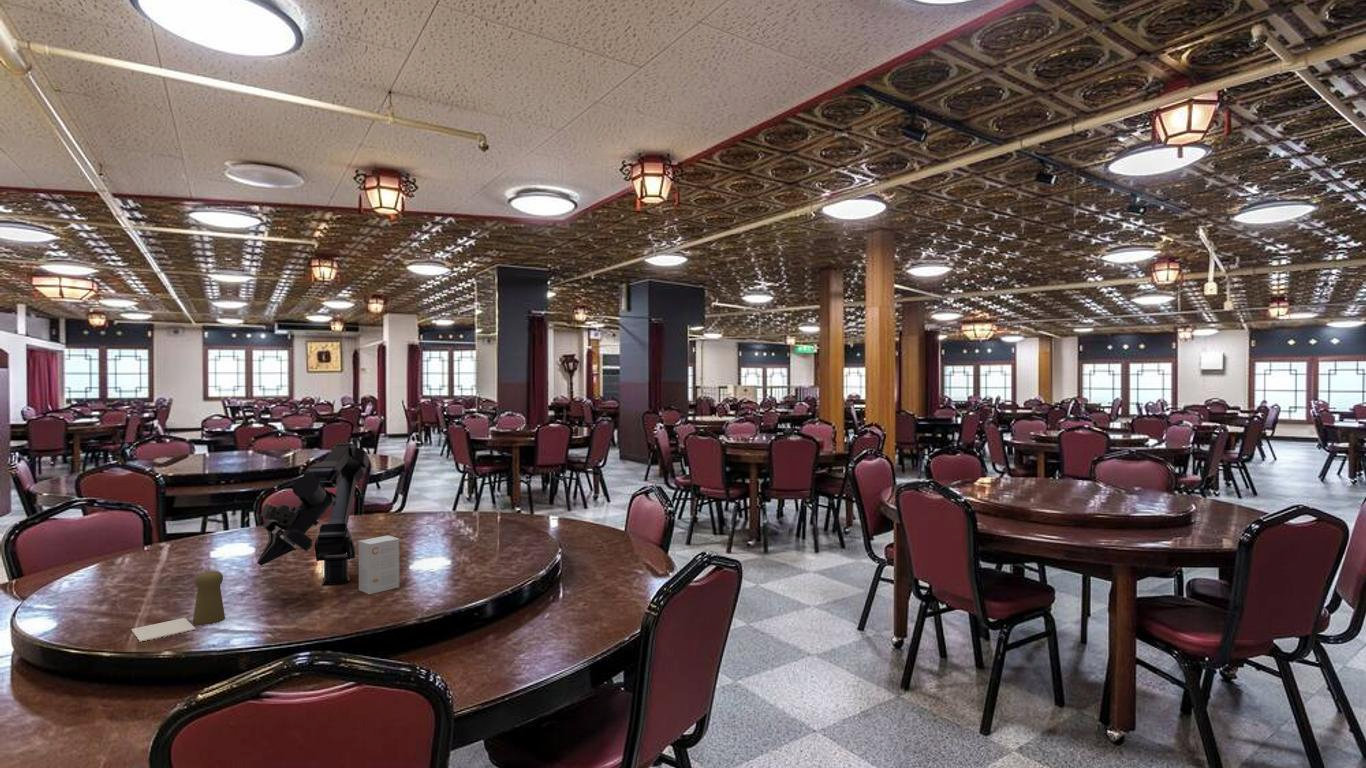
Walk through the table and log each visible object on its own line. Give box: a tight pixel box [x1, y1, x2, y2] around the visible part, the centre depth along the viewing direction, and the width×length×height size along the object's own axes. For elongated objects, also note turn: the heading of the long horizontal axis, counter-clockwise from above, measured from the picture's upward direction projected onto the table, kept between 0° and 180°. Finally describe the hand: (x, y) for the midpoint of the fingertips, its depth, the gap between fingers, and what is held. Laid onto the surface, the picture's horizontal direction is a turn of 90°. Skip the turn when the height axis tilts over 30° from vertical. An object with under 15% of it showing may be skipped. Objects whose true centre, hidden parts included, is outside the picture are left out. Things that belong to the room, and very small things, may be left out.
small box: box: [357, 535, 400, 595], centre depth 174 cm, size 8×6×13 cm
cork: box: [192, 570, 226, 626], centre depth 151 cm, size 6×6×11 cm
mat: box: [130, 617, 197, 643], centre depth 145 cm, size 10×10×1 cm
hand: (259, 564), depth 158 cm, fingers closed
